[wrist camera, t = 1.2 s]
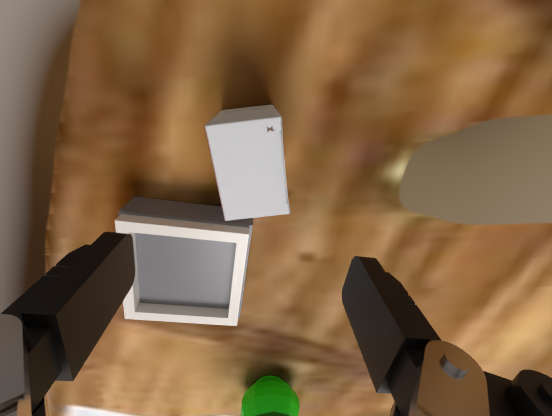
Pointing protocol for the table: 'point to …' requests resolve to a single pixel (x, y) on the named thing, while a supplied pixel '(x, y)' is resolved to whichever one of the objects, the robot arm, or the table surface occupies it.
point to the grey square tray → (185, 261)
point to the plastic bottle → (270, 398)
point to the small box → (249, 162)
